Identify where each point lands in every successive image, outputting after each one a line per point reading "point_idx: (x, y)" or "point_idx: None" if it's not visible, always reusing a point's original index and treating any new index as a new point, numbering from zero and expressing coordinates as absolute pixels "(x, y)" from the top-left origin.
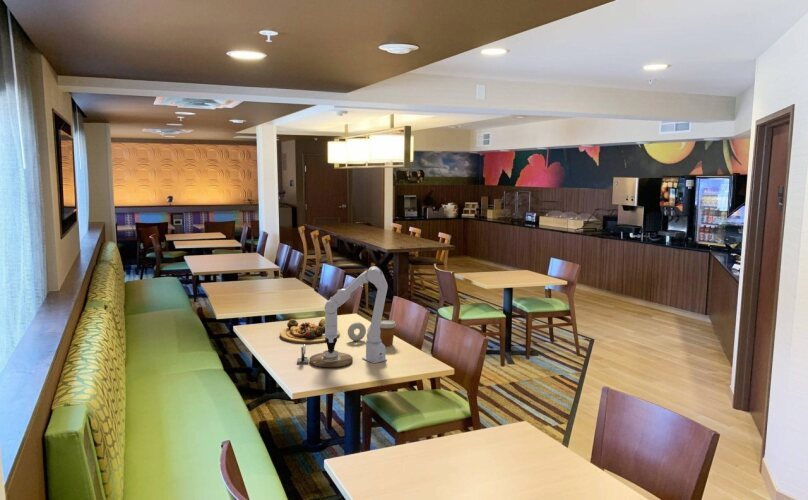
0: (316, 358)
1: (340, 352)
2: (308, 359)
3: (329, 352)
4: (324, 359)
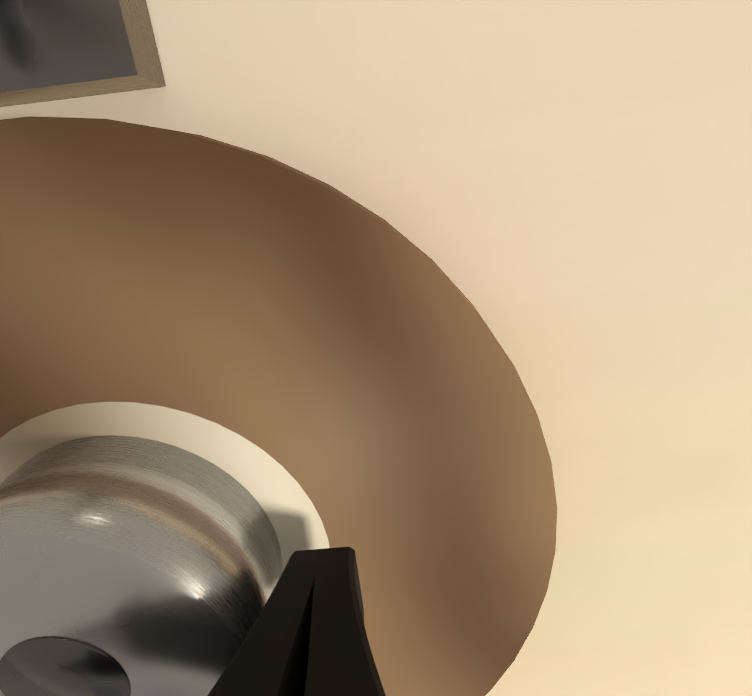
0: (66, 298)
1: (507, 661)
2: (42, 88)
3: (24, 666)
4: (9, 475)
